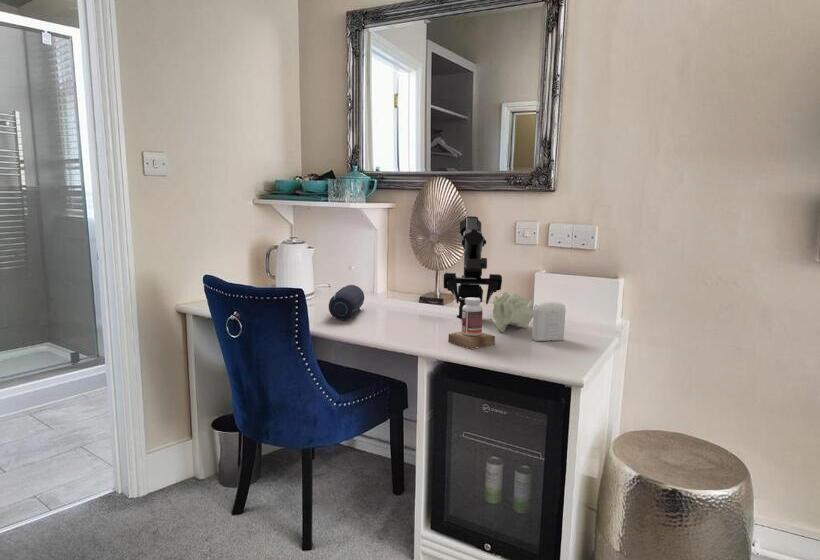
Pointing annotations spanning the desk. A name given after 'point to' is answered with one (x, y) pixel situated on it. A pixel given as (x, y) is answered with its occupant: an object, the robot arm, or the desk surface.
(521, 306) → the wavy plaster lump
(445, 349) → the desk surface
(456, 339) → the plinth
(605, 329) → the desk surface
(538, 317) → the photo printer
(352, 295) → the portable speaker
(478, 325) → the pill bottle
